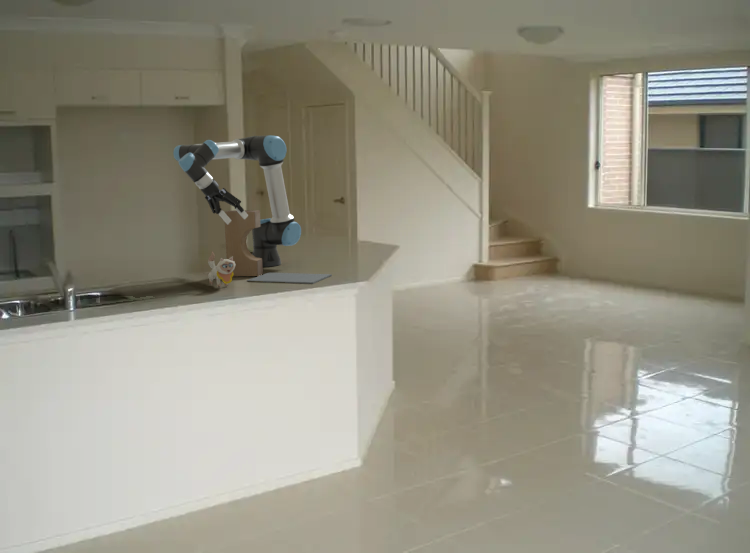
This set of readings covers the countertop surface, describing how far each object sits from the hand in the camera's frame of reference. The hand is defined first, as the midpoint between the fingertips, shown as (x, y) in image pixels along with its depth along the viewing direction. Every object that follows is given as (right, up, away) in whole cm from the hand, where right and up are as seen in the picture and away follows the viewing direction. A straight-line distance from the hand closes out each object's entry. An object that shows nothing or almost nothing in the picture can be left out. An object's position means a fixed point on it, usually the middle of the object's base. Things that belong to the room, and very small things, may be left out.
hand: (237, 220), depth 399 cm
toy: (-6, -30, -13) cm, 33 cm away
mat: (+23, -26, +3) cm, 35 cm away
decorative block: (+1, -25, +16) cm, 30 cm away
